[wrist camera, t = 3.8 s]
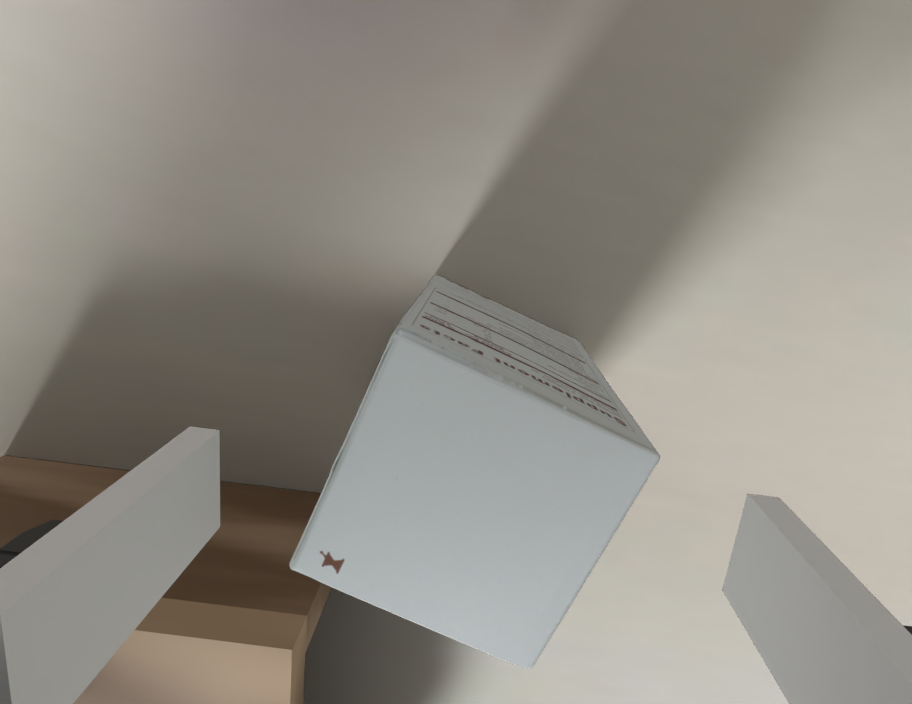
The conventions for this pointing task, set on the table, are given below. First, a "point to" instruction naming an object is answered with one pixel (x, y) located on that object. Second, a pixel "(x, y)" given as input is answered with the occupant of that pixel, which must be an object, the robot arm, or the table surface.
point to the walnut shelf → (197, 594)
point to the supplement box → (477, 477)
